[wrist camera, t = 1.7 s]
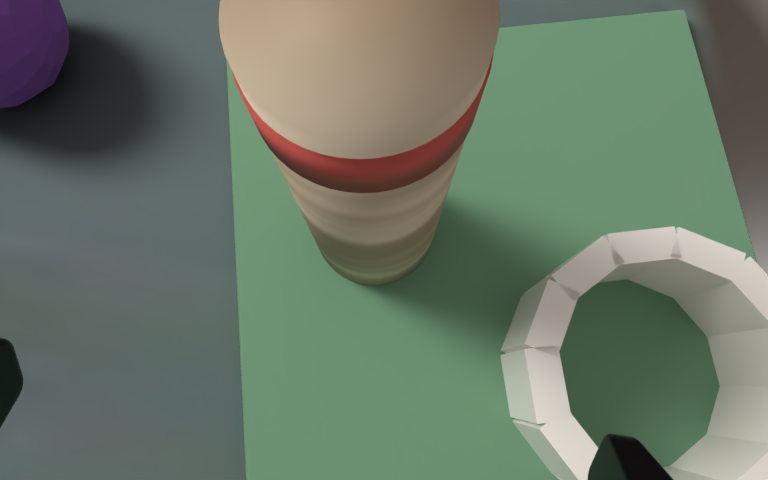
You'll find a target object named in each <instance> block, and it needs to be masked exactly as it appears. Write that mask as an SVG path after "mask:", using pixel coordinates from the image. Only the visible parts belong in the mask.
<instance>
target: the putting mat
mask: <svg viewBox="0 0 768 480" xmlns="http://www.w3.org/2000/svg"><path fill="white" fill-rule="evenodd" d="M227 79H228V101H229V122H230V143H231V164H232V185H233V206H234V228H235V249H236V270H237V291H238V312H239V333H240V354H241V376H242V397H243V418H244V439H245V460H246V480H560V479H558V478H557V477H556V476H555V475H553V474H552V473H551V472H550V471H549V469H548V468H547V467H546V465H545V464H544V463H543V461H542V460H541V459H540V457H539V456H538V455H537V453H536V452H535V451H534V450H533V448H532V447H531V446H530V444H529V443H528V442H527V440H526V439H525V438H524V436H523V435H522V434H521V432H520V431H519V430H518V428H517V427H516V426H515V424H514V423H513V422H512V421H513V420H514V419H515V418H512V417H510V412H509V406H508V400H507V394H506V388H505V382H504V375H503V369H502V363H501V357H500V355H502V354H506V353H504V352H502V351H501V349H502V346H503V343H504V341H505V338H506V335H507V333H508V330H509V327H510V325H511V322H512V319H513V317H514V314H515V311H516V309H517V306H518V303H519V301H520V298H521V296H523V295H524V294H523V293H525V292H526V291H527V290H529V289H530V288H531V287H533V286H534V285H535V284H537V283H538V282H539V281H540V280H542V279H543V278H544V277H546V276H547V275H548V274H550V273H551V272H552V271H553V270H555V269H556V268H557V267H559V266H560V265H561V264H563V263H564V262H565V261H566V260H568V259H569V258H571V257H572V256H574V255H575V254H577V253H578V252H580V251H581V250H582V249H584V248H585V247H587V246H588V245H590V244H591V243H593V242H594V241H596V240H597V239H599V238H600V237H601V236H605V235H606V234H608V233H618V232H627V231H636V230H645V229H654V228H663V227H672V226H674V227H675V229H676V228H678V227H681V228H683V229H686V230H688V231H691V232H693V233H696V234H698V235H701V236H703V237H706V238H709V239H711V240H714V241H716V242H719V243H721V244H724V245H726V246H729V247H731V248H734V249H736V250H739V251H741V252H744V253H746V256H745V258H747V257H750V256H751V257H752V259H753V260H754V261H755V262H756V258H755V255H754V251H753V248H752V244H751V241H750V237H749V234H748V230H747V227H746V223H745V220H744V216H743V213H742V209H741V206H740V202H739V199H738V196H737V192H736V188H735V185H734V181H733V178H732V175H731V171H730V168H729V164H728V161H727V157H726V154H725V150H724V147H723V143H722V140H721V136H720V133H719V129H718V126H717V122H716V119H715V115H714V112H713V108H712V105H711V101H710V98H709V94H708V91H707V87H706V84H705V80H704V77H703V73H702V70H701V66H700V63H699V59H698V56H697V52H696V49H695V46H694V42H693V39H692V35H691V32H690V28H689V25H688V21H687V18H686V14H685V11H684V10H674V11H664V12H654V13H644V14H634V15H624V16H614V17H604V18H594V19H585V20H575V21H565V22H555V23H545V24H535V25H525V26H515V27H505V28H499V32H498V37H497V43H496V46H495V49H494V55H493V61H492V66H491V71H490V74H489V77H488V80H487V83H486V86H485V89H484V92H483V95H482V98H481V101H480V104H479V107H478V110H477V113H476V116H475V119H474V121H473V124H472V127H471V129H470V131H469V133H468V135H467V137H466V139H465V141H464V144H463V148H462V151H461V154H460V157H459V160H458V163H457V166H456V169H455V172H454V175H453V178H452V181H451V184H450V187H449V191H448V194H447V197H446V200H445V203H444V206H443V209H442V212H441V215H440V218H439V221H438V224H437V227H436V230H435V234H434V237H433V240H432V243H431V246H430V249H429V251H428V253H427V255H426V257H425V258H424V260H423V261H422V263H421V264H420V265H419V266H418V267H417V268H416V269H415V270H414V271H413V272H412V273H410V274H409V275H407V276H406V277H404V278H402V279H400V280H398V281H396V282H393V283H390V284H385V285H364V284H359V283H356V282H353V281H350V280H348V279H346V278H344V277H342V276H341V275H340V274H338V273H337V272H336V271H335V270H333V269H332V268H331V267H330V265H329V264H328V263H327V262H326V260H325V259H324V257H323V256H322V254H321V252H320V250H319V248H318V246H317V244H316V241H315V239H314V237H313V235H312V233H311V231H310V229H309V227H308V225H307V223H306V221H305V219H304V217H303V215H302V213H301V211H300V209H299V207H298V205H297V203H296V201H295V198H294V196H293V194H292V192H291V190H290V188H289V186H288V184H287V182H286V180H285V178H284V176H283V174H282V172H281V170H280V168H279V166H278V164H277V162H276V160H275V157H274V155H273V153H272V151H271V150H270V149H269V148H268V146H267V144H266V143H265V141H264V140H263V138H262V137H261V135H260V133H259V131H258V129H257V127H256V125H255V123H254V121H253V119H252V117H251V115H250V113H249V111H248V109H247V107H246V105H245V103H244V101H243V99H242V97H241V95H240V92H239V90H238V88H237V86H236V84H235V81H234V77H233V74H232V70H231V67H230V65H229V63H228V60H227ZM756 263H757V262H756ZM559 353H560V359H561V364H562V369H563V375H564V380H565V385H566V390H567V396H568V401H569V406H570V412H571V414H572V415H573V416H574V418H575V419H576V420H577V421H578V423H579V424H580V425H581V427H582V428H583V429H584V430H585V432H586V433H587V434H588V435H589V437H590V438H591V439H592V441H593V442H594V443H595V444H596V446H597V447H598V448H599V446H600V443H601V441H602V439H603V438H604V436H605V435H607V434H609V433H613V434H619V435H626V436H632V437H634V438H636V439H638V440H639V441H640V442H641V443H642V444H643V445H644V446H645V448H646V449H647V450H648V451H649V452H650V453H651V454H652V456H653V457H654V458H655V459H656V460H657V461H658V462H659V463H660V465H661V466H662V467H666V466H670V465H672V464H673V463H674V462H675V461H676V460H677V459H678V458H680V457H681V456H682V455H683V454H684V453H685V452H687V451H688V450H689V449H690V448H691V447H692V446H693V445H695V444H696V443H697V442H698V441H699V440H700V439H701V438H703V437H704V436H705V435H706V434H707V431H708V427H709V423H710V420H711V416H712V412H713V409H714V405H715V402H716V398H717V394H718V391H719V387H720V385H719V381H718V378H717V374H716V370H715V366H714V362H713V358H712V354H711V350H710V346H709V342H708V338H707V336H706V335H705V334H704V333H703V331H702V330H701V329H700V328H699V327H698V326H697V325H696V323H695V322H694V321H693V320H692V319H691V318H690V317H689V315H688V314H687V313H686V312H685V311H684V310H683V309H682V307H681V306H680V305H679V304H678V303H677V302H676V301H675V299H674V298H672V297H669V296H667V295H665V294H662V293H660V292H657V291H655V290H652V289H650V288H647V287H645V286H643V285H640V284H638V283H635V282H633V281H630V280H628V279H627V280H618V281H609V282H600V283H597V284H595V285H594V286H593V287H591V288H590V289H589V290H588V291H586V292H585V293H584V294H583V295H581V296H580V297H579V298H578V300H577V302H576V305H575V308H574V311H573V314H572V317H571V320H570V322H569V325H568V328H567V331H566V334H565V337H564V339H563V342H562V345H561V348H560V351H559Z"/></svg>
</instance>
